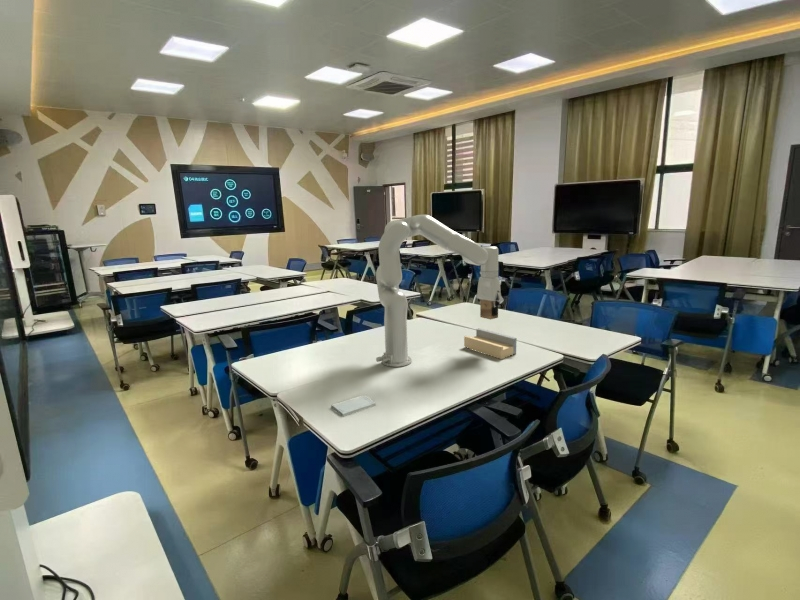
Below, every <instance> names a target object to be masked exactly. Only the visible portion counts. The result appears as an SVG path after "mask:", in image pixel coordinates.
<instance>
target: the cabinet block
mask: <svg viewBox="0 0 800 600" xmlns="http://www.w3.org/2000/svg"><path fill="white" fill-rule="evenodd" d="M495 304H496V301H495ZM479 305H480V306H479V309H480V313H479V316H480V318H483V319H486V320H494V319H498V318H499V314H498V315H496V316H492V307H493V304H492V301H487V300H482V299H480V304H479Z"/></svg>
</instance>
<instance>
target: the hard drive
mask: <svg viewBox="0 0 800 600" xmlns="http://www.w3.org/2000/svg"><path fill="white" fill-rule="evenodd" d="M376 405H377V404H376V402H375V401H374V400H372V399H371V398H369V397H368V396H366V395H363V394H362V395H360V396H359V395H358V396H356V397H353V398H350V399H347V400H344V401H341V402H337V403H334V404H332V405H330V408H331V409H332V410H333V411H334V412H336V413H337V414H338V415H340V416H341V417H347V416H350V415H352V414H355V413H357V412H358V413H359V412H360V411H364V410H367V409H369V408H372V407H376Z"/></svg>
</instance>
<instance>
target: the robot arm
mask: <svg viewBox="0 0 800 600" xmlns="http://www.w3.org/2000/svg"><path fill="white" fill-rule="evenodd" d="M415 236H422V237H424V238H425V239H427V240H428V241H431V242H432V243H434V244H435V245H436V246H438V247H440V248H442V249H444V250H446V251H449V252H452V253H454V254H455V253H456V254H457V255H460V256H461V258H462V260H463V261H464V262H465V263H466V264H469V265H474V266H480V271H479V274H480V277H478V284H477V292H476V294H475V298H476V299H477V301H478V302H479V303H478V304H479V305H480V299H482V300H487V301H492V304H493V307H492V316H496V315H498V316H499V307H500V305H501V304H502V303H503V302H504V298H503V296H502V293H501V290H502V289H501V282H500V278H499V248H498V247H497V246H494V245H493V246H492V245H491V246H489V245H488V246H482V245H480V244H478V243H477V242H475V241H473V240H471V239H469V238H468V237H465V236H464V235H463V234H460V233H458V232H457V231H454V230H453V229H451V228H449V226H447V225H445V224H444V223H442V222H440V221H439V220H437V219H436V218H434V217H432V216H431V215H429V214H417V215H412V216H407V217H405V218H404V217H403V218H401V219H400V218H399V219H396V220H395V219H394V220H391V221H389V222H388V223H387V224H385V227H384V233H383V234H382V236H381V238H380V239H379V243H378V259H379V260H378V262H379V265H378V266H377V269H376V272H375V279H376V286H377V292H378V293H377V295H378V299H379V302H380V305H382V307H384V316H383V317H384V318H383V319H384V320H383V321H384V322H383V324H384V326H383V327H384V344H385V352H383V354H382V355H381V356H377V357H376V358H375V360H376V362H382V364H383V365H385V366H387V367H393V368H394V367H399V368H400V367H404V366H408V365H410V364H411V363H412V357H411V356H409V353H408V324H407V323H408V320H407V319H408V305H409V304H408V302H409V301H408V299H407V296H406V295H405V293H404V292H403V291H401V290H400V287H399V285H400V284H401V282H402V280H403V273H402V272H403V271H402V264H401V256H400V251H401V250H400V249H401V245H402V243H404V241H406V240H407V239H408V238H411V237H415ZM495 301H496V304H495Z"/></svg>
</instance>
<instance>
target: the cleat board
mask: <svg viewBox="0 0 800 600" xmlns="http://www.w3.org/2000/svg"><path fill="white" fill-rule="evenodd" d="M475 330H476V331H475V332H476V333H475V336H472V337H471V336H467V335H463V336H464V337H463V338H464V339H463V343H464V344H463V347H464V346H465V347H468V348H470V349H469V350H471V349H473V350H472V351H474V350H476V351H475V352H477V351H479V352H478V353H480V352H482V353H481V354H483V353H485V354H484V355H486V354H489V355H492V356H494V357H493V358H495V357H497V358H496V359H498V358H500V360H503V359H506V358H508V357H507V356H509V357H511V356H510V355H512V356H514V355H513V354H515V355H516V354H517V337H514V336H511V335H507V334H502V333H499V332H495V331H490V330H488V329H484V328H480V327H479V328H476V329H475ZM489 355H488V356H489ZM492 356H491V357H492ZM505 357H506V358H505ZM502 358H503V359H502Z"/></svg>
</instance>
